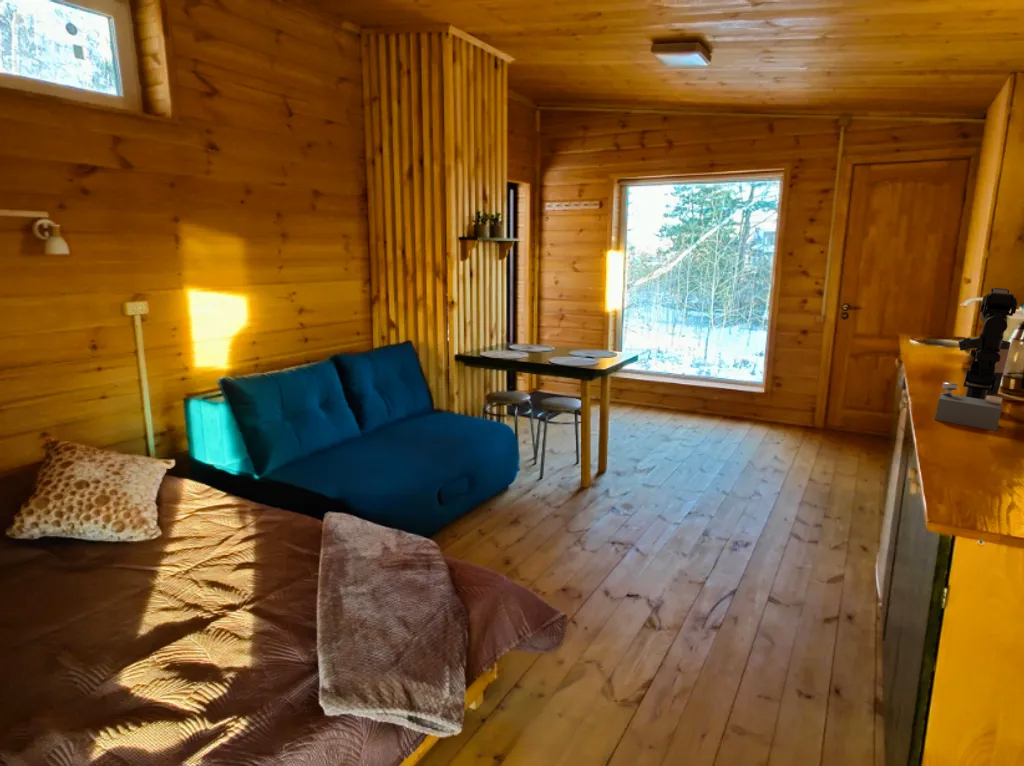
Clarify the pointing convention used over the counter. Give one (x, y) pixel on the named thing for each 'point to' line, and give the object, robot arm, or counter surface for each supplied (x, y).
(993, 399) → the cream knob
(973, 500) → the counter surface
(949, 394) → the grey knob
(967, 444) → the counter surface
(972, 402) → the console
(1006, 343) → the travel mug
